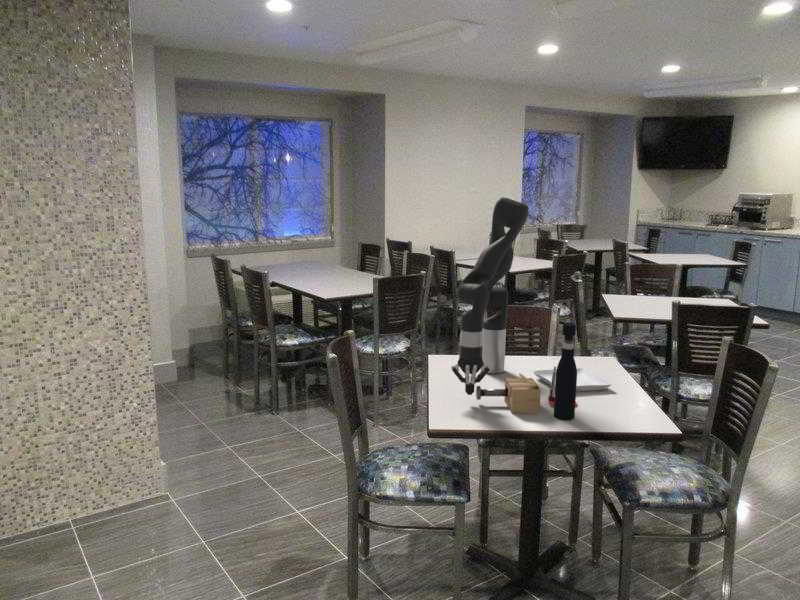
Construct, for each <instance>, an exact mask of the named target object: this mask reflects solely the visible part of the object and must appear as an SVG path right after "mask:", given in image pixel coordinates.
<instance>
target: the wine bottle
mask: <svg viewBox="0 0 800 600" xmlns="http://www.w3.org/2000/svg"><path fill="white" fill-rule="evenodd" d="M576 331H577V324H575V323H572V322H565V323H563V324H562V335H563V336H564V342H563V343H562V348H561V357H560V358H559V362H558V363H557V367H556V369H557V370H556V381H555V388H554V389H555V393H554V407H553V415H552V416H553V417H554V418H555V419H556V420H560V421H573V420H574V419H575V414H576V412H575V410H576V407H575V402H576V399H577V392H576V385H577V368H578V367H577V365H576V360H575V348H574V347H575V346H574V336H576Z"/></svg>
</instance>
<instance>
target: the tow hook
mask: <svg viewBox="0 0 800 600" xmlns="http://www.w3.org/2000/svg"><path fill="white" fill-rule="evenodd" d="M553 369H554V370H553V374H552V382H551V385H550V389H549V394H548V396H547V400H548V404H549V405H550V407H552V408H554V397H555V379H556V369H557V367H556V366H553ZM577 406H578V402H577V401H575V408H577Z"/></svg>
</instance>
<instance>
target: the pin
mask: <svg viewBox="0 0 800 600" xmlns="http://www.w3.org/2000/svg"><path fill="white" fill-rule="evenodd" d="M505 396H508V389H505V388H481V385H476V386H475V399H476V400H477V401H479V400H480V401H481V399H482V397H505Z"/></svg>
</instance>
